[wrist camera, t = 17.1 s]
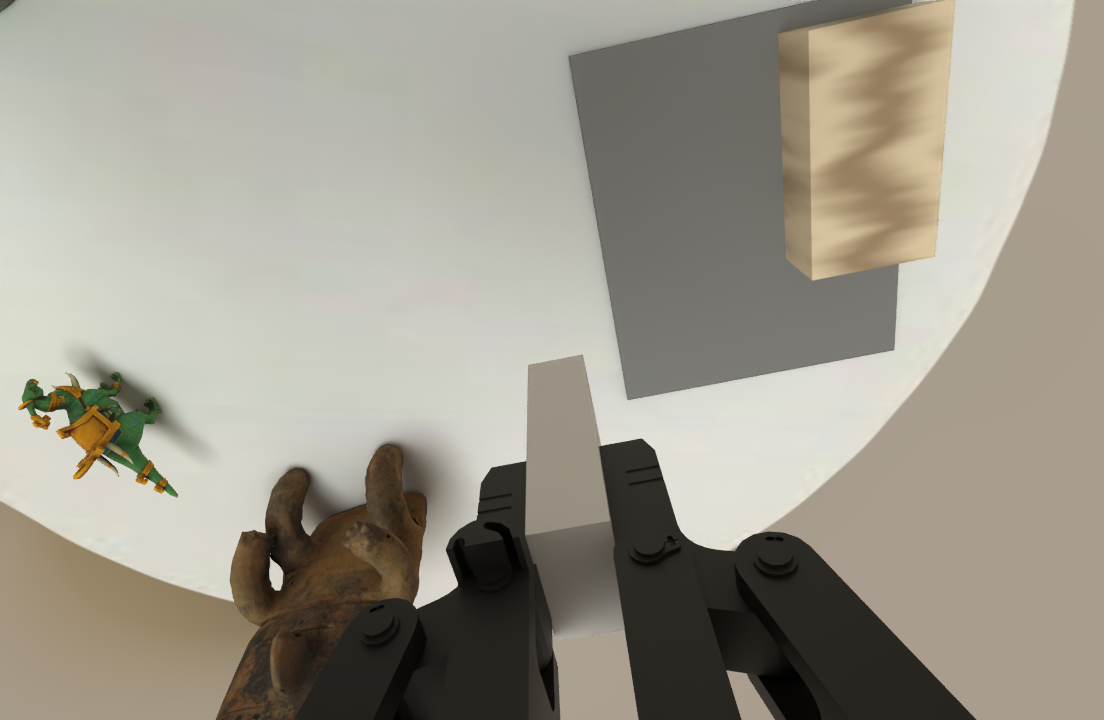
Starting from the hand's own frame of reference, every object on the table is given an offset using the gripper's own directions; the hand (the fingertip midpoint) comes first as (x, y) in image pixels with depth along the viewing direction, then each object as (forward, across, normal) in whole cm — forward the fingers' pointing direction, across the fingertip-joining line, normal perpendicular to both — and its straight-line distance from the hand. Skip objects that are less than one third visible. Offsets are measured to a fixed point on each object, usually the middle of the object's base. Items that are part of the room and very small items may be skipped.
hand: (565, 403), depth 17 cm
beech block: (+24, -19, +7) cm, 31 cm away
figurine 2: (+27, +20, +20) cm, 39 cm away
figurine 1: (+27, +33, +9) cm, 43 cm away
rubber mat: (+26, -13, +4) cm, 30 cm away
